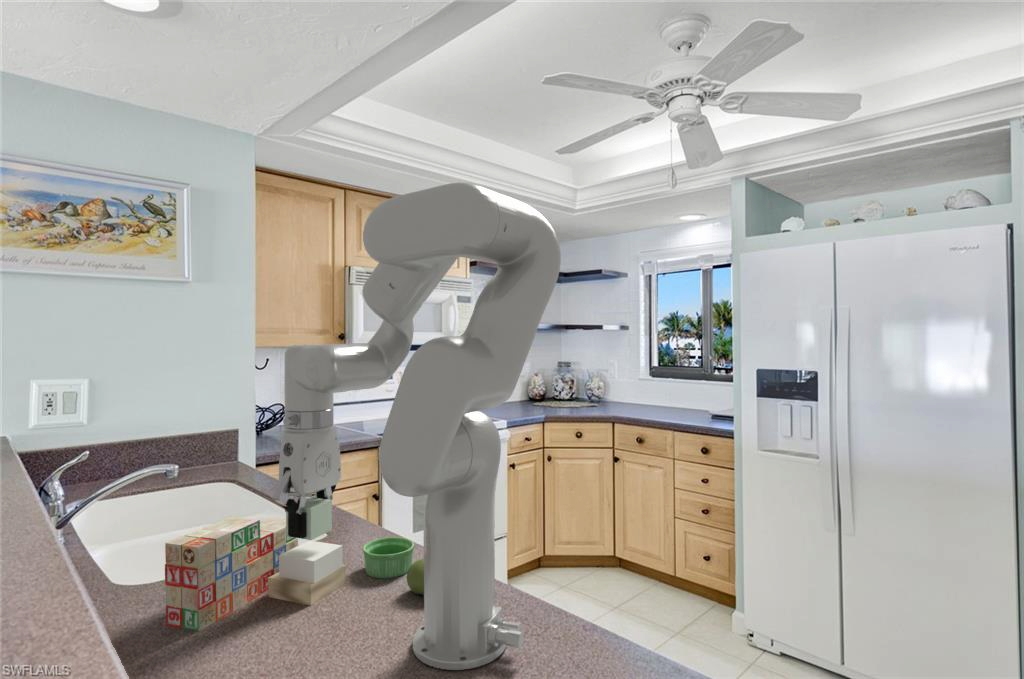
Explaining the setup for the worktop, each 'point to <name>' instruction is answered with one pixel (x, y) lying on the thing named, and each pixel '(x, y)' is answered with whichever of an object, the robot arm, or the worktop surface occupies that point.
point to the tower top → (310, 561)
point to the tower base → (305, 587)
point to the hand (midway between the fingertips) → (309, 529)
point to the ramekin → (388, 557)
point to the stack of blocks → (221, 568)
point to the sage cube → (316, 517)
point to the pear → (416, 577)
